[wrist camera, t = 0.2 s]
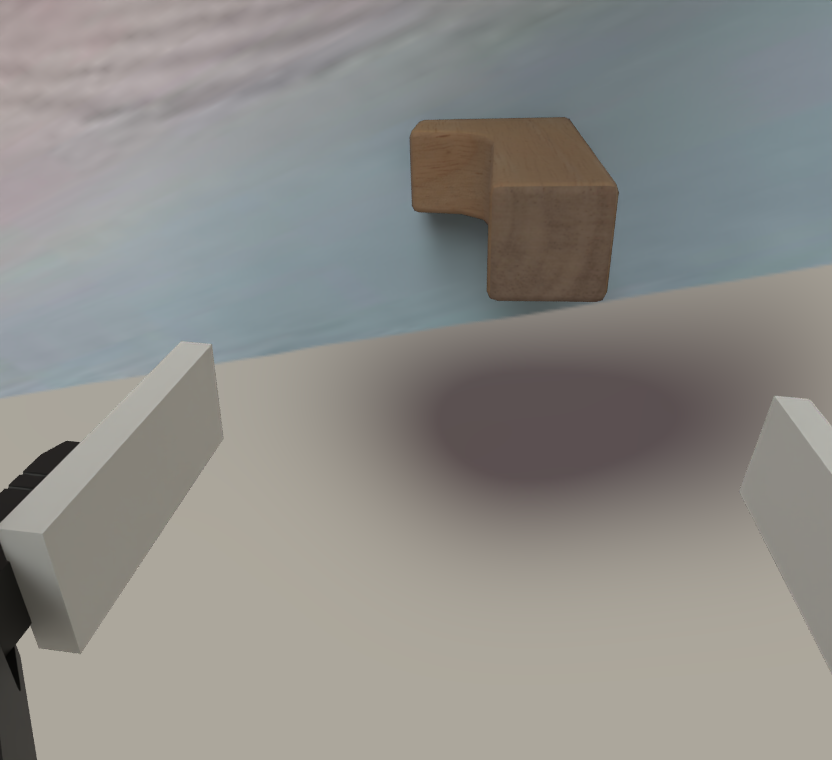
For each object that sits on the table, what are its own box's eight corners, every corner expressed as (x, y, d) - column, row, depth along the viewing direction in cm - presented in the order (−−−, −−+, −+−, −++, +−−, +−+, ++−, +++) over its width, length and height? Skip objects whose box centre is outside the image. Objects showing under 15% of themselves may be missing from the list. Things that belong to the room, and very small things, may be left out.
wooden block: (419, 195, 41) (370, 303, 25) (417, 119, 39) (361, 185, 23) (564, 194, 40) (607, 305, 24) (570, 116, 38) (622, 182, 22)
